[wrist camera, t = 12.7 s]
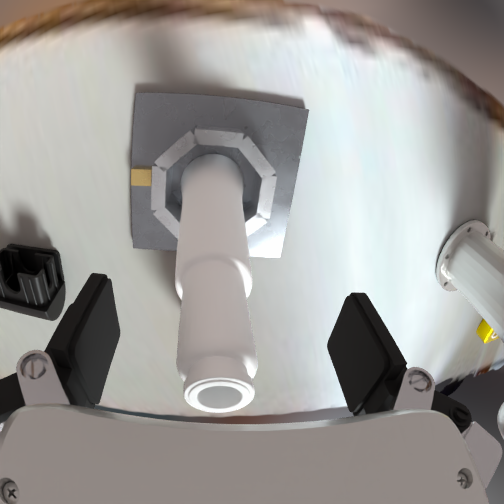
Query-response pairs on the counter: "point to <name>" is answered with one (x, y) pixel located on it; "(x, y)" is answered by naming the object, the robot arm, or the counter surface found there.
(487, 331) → the element tile
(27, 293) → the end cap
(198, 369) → the cosmetic bottle
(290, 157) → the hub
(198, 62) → the counter surface
